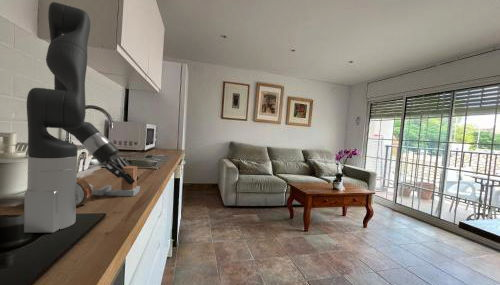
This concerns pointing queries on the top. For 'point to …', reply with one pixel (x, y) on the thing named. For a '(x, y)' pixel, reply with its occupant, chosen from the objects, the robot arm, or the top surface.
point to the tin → (82, 192)
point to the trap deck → (115, 191)
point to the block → (133, 173)
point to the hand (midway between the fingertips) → (134, 181)
